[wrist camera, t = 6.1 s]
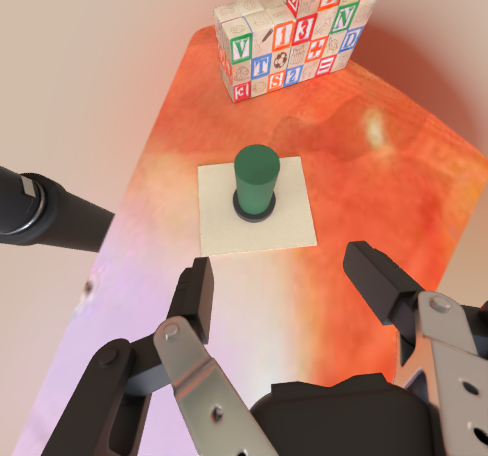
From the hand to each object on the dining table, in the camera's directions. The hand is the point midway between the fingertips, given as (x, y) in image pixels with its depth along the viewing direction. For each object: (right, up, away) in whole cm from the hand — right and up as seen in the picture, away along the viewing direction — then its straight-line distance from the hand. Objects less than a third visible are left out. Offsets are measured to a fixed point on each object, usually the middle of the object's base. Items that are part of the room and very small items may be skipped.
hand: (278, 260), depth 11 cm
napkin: (-1, +5, +17) cm, 18 cm away
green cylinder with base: (-1, +6, +17) cm, 18 cm away
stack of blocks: (+5, +29, +23) cm, 38 cm away
